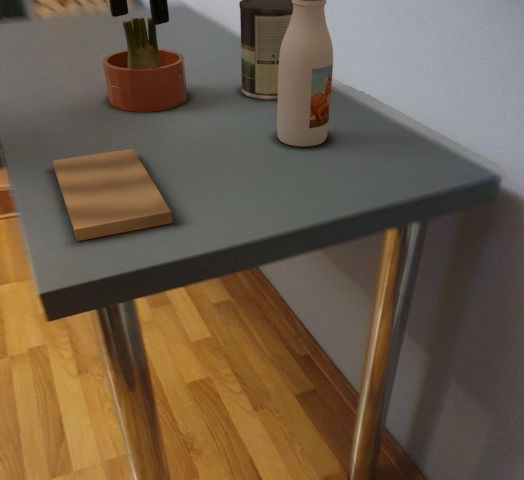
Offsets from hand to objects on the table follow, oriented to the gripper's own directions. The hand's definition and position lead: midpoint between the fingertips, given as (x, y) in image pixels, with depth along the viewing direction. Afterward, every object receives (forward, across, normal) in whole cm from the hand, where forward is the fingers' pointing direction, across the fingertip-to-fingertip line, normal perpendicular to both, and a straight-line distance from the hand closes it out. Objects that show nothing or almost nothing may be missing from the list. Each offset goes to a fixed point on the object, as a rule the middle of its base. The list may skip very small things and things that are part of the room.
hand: (140, 19), depth 89 cm
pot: (+12, 0, 0) cm, 12 cm away
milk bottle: (+13, +32, +2) cm, 34 cm away
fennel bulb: (+12, 0, 0) cm, 12 cm away
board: (+12, +24, -30) cm, 40 cm away
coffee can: (+13, +14, +16) cm, 25 cm away
